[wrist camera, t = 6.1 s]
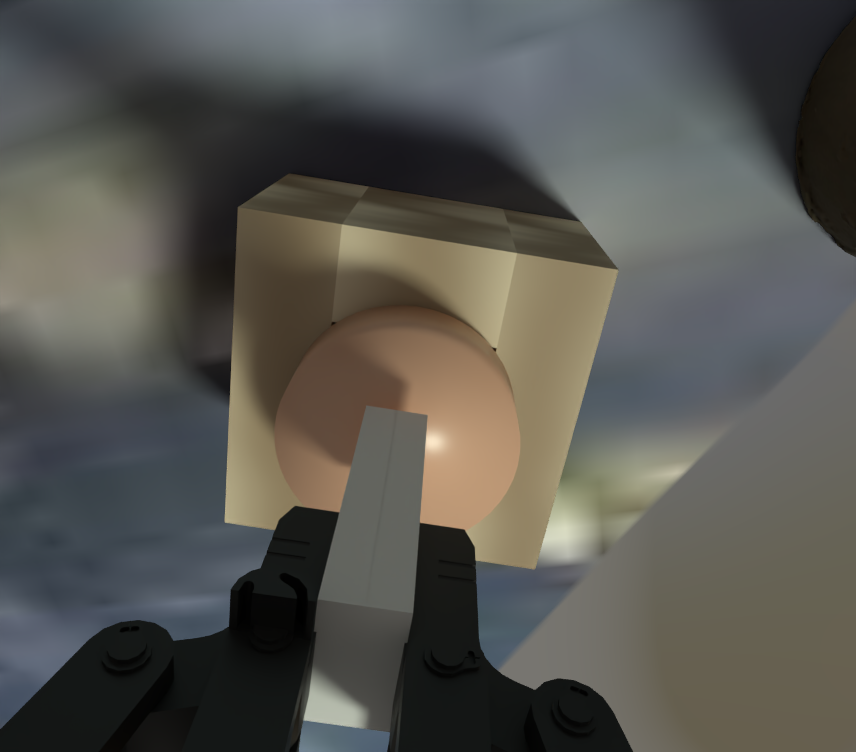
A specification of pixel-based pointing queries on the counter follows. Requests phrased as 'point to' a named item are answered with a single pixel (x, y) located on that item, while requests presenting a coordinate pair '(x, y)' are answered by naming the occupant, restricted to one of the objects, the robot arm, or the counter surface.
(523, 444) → the housing
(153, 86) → the counter surface
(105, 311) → the counter surface
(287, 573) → the robot arm
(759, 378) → the counter surface
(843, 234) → the pillar candle
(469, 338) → the knob
